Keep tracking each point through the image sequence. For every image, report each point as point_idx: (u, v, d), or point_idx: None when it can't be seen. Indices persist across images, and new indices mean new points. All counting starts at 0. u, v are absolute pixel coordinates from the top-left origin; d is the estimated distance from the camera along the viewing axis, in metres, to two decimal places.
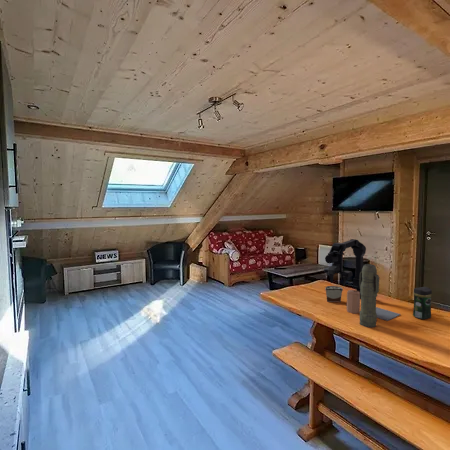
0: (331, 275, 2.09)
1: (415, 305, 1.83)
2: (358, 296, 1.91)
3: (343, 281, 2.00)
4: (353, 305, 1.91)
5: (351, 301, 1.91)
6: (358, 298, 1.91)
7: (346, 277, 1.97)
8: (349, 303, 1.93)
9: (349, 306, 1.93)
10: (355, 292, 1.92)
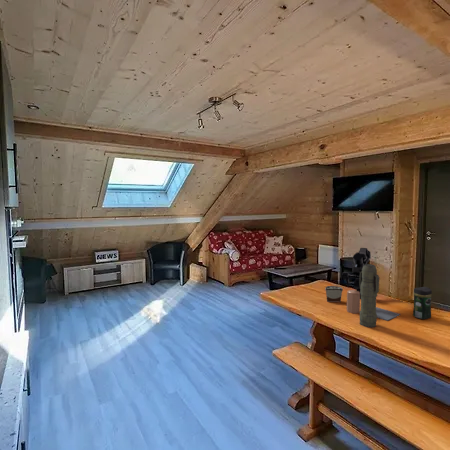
0: (348, 280, 2.06)
1: (415, 305, 1.83)
2: (358, 296, 1.91)
3: None
4: (353, 305, 1.91)
5: (351, 301, 1.91)
6: (358, 298, 1.91)
7: None
8: (349, 303, 1.93)
9: (349, 306, 1.93)
10: (355, 292, 1.92)
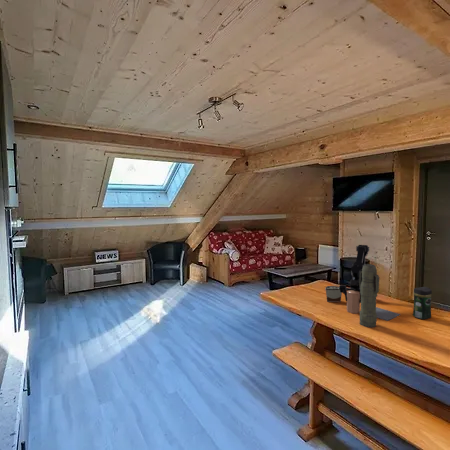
0: (346, 293, 1.98)
1: (415, 305, 1.83)
2: (358, 296, 1.91)
3: None
4: (353, 305, 1.91)
5: (351, 301, 1.91)
6: (358, 298, 1.91)
7: None
8: (349, 303, 1.93)
9: (349, 306, 1.93)
10: (355, 292, 1.92)
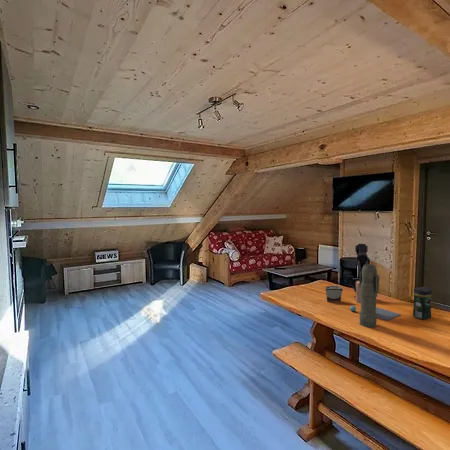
0: (354, 284, 1.96)
1: (415, 305, 1.83)
2: None
3: None
4: None
5: None
6: None
7: None
8: (359, 294, 1.90)
9: (359, 297, 1.90)
10: None
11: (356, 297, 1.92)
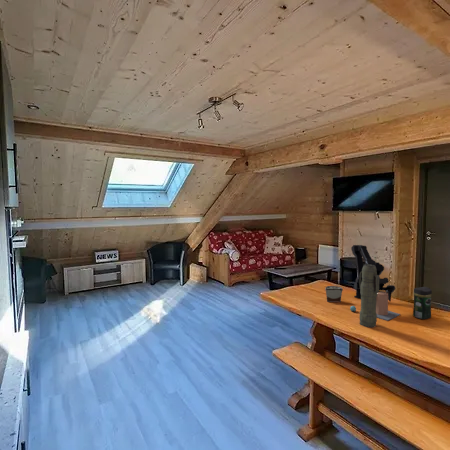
0: None
1: (415, 305, 1.83)
2: None
3: (390, 295, 1.89)
4: (385, 307, 1.86)
5: (383, 303, 1.86)
6: None
7: (393, 289, 1.90)
8: (380, 305, 1.86)
9: (380, 308, 1.87)
10: (384, 293, 1.88)
11: (377, 309, 1.88)
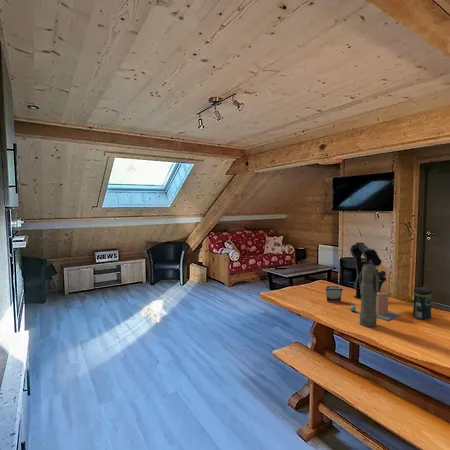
0: None
1: (415, 305, 1.83)
2: None
3: (380, 286, 2.00)
4: (385, 307, 1.86)
5: (383, 303, 1.86)
6: None
7: (384, 281, 2.01)
8: (380, 305, 1.86)
9: (380, 308, 1.87)
10: (384, 293, 1.88)
11: (377, 309, 1.88)
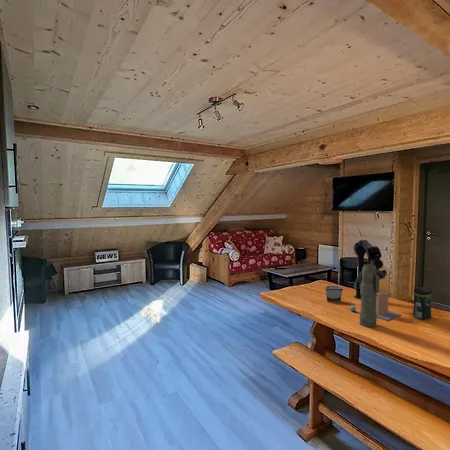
0: None
1: (415, 305, 1.83)
2: None
3: None
4: (385, 307, 1.86)
5: (383, 303, 1.86)
6: None
7: None
8: (380, 305, 1.86)
9: (380, 308, 1.87)
10: (384, 293, 1.88)
11: (377, 309, 1.88)
